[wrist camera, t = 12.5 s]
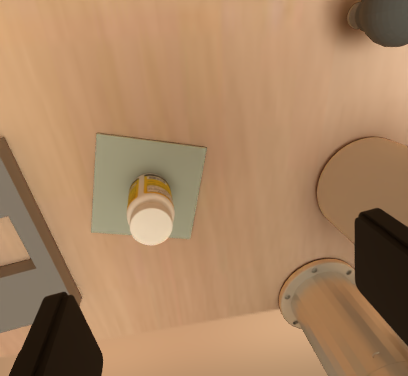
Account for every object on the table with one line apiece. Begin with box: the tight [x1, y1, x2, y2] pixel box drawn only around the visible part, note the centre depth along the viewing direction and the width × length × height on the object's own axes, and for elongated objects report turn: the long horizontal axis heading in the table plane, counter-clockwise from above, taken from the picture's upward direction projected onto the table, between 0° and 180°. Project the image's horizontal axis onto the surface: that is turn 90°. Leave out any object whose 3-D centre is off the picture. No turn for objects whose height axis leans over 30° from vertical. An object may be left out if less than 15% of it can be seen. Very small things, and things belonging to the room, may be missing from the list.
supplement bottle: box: [127, 173, 175, 245], centre depth 33 cm, size 5×5×8 cm
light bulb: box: [347, 0, 408, 47], centre depth 29 cm, size 6×6×10 cm
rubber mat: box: [91, 133, 207, 239], centre depth 37 cm, size 12×12×1 cm
